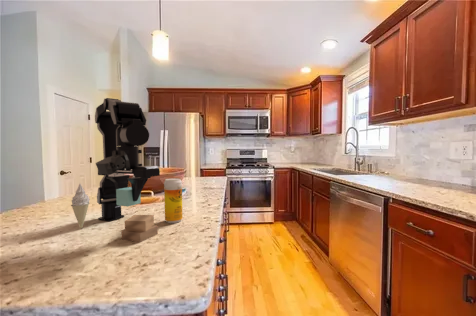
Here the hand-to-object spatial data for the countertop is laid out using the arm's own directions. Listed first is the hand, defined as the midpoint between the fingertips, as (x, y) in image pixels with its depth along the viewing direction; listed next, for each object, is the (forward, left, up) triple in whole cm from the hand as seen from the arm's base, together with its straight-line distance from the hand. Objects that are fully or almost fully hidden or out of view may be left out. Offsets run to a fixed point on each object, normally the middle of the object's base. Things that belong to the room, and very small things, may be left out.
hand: (129, 200), depth 69 cm
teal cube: (0, 0, -1) cm, 1 cm away
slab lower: (+2, +2, -12) cm, 12 cm away
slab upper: (+2, +2, -8) cm, 9 cm away
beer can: (+1, +18, -11) cm, 21 cm away
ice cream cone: (-22, 0, -11) cm, 24 cm away
